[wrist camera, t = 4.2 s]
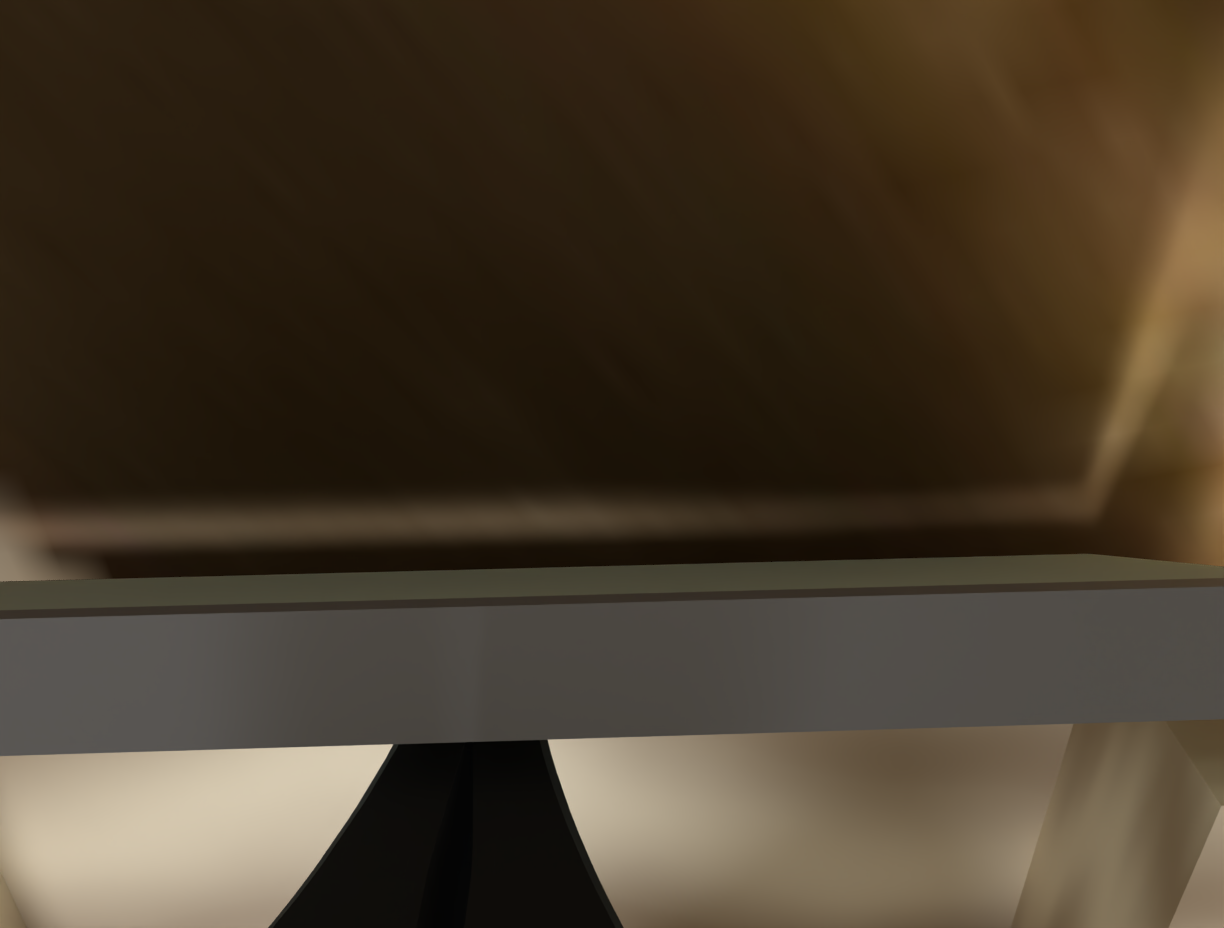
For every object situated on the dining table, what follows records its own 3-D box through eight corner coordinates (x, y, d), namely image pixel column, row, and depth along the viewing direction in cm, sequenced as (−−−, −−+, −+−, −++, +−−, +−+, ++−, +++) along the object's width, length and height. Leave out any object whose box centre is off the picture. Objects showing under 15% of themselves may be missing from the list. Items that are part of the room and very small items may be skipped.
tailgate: (1092, 629, 17) (1431, 713, 10) (-92, 662, 17) (-568, 773, 10) (1089, 550, 18) (1425, 581, 11) (-92, 581, 17) (-564, 634, 10)
